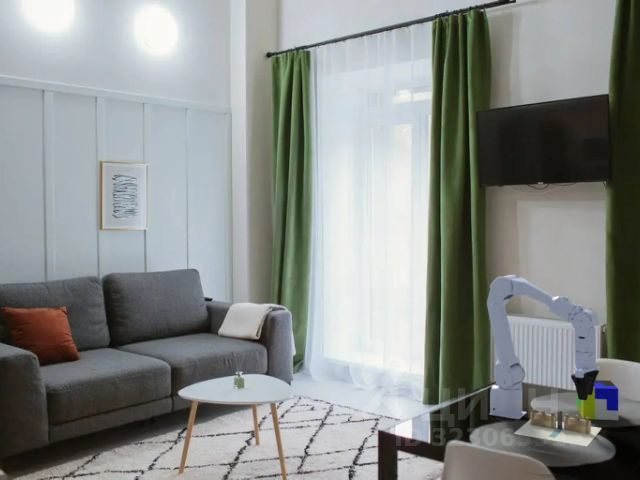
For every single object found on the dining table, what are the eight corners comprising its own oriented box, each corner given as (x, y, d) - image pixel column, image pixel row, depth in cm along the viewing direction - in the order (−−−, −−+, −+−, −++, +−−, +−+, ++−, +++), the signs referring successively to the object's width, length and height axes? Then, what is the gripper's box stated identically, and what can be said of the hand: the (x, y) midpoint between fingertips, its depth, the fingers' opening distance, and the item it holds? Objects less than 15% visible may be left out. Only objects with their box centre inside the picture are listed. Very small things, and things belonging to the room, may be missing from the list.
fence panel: (563, 429, 189) (563, 414, 189) (564, 428, 190) (564, 413, 190) (589, 433, 185) (589, 418, 185) (590, 432, 186) (590, 417, 186)
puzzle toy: (618, 421, 197) (618, 388, 197) (583, 420, 199) (583, 387, 199) (610, 411, 207) (610, 380, 207) (577, 410, 209) (577, 379, 209)
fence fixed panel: (530, 424, 194) (530, 407, 194) (531, 423, 196) (531, 406, 195) (561, 429, 189) (561, 412, 189) (563, 428, 190) (562, 410, 190)
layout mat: (513, 435, 187) (513, 433, 187) (532, 418, 202) (532, 417, 202) (587, 447, 175) (587, 446, 175) (601, 429, 190) (601, 427, 190)
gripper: (593, 356, 182) (594, 405, 182) (605, 347, 194) (605, 393, 194) (567, 354, 186) (568, 401, 186) (580, 345, 198) (580, 390, 198)
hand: (585, 397), depth 191 cm, fingers open, 6 cm apart
